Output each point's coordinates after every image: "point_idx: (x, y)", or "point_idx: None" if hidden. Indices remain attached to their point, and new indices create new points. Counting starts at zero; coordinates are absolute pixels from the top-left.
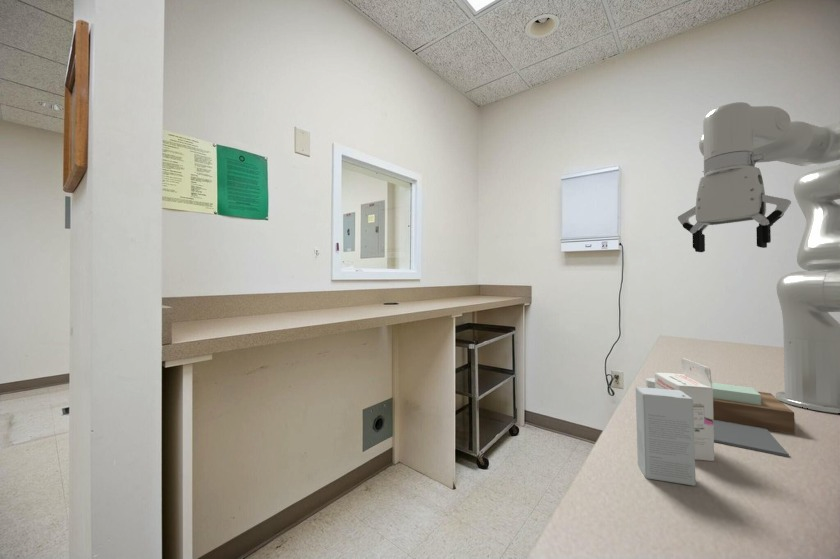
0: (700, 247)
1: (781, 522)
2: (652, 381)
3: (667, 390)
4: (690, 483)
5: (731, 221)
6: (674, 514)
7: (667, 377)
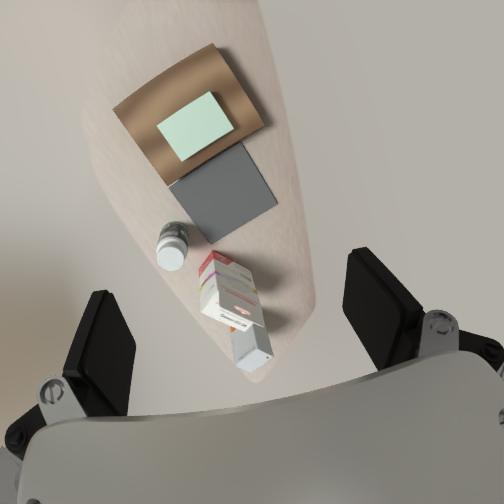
0: (129, 347)
1: (299, 304)
2: (172, 270)
3: (253, 356)
4: None
5: (247, 418)
6: (269, 340)
7: (221, 319)
